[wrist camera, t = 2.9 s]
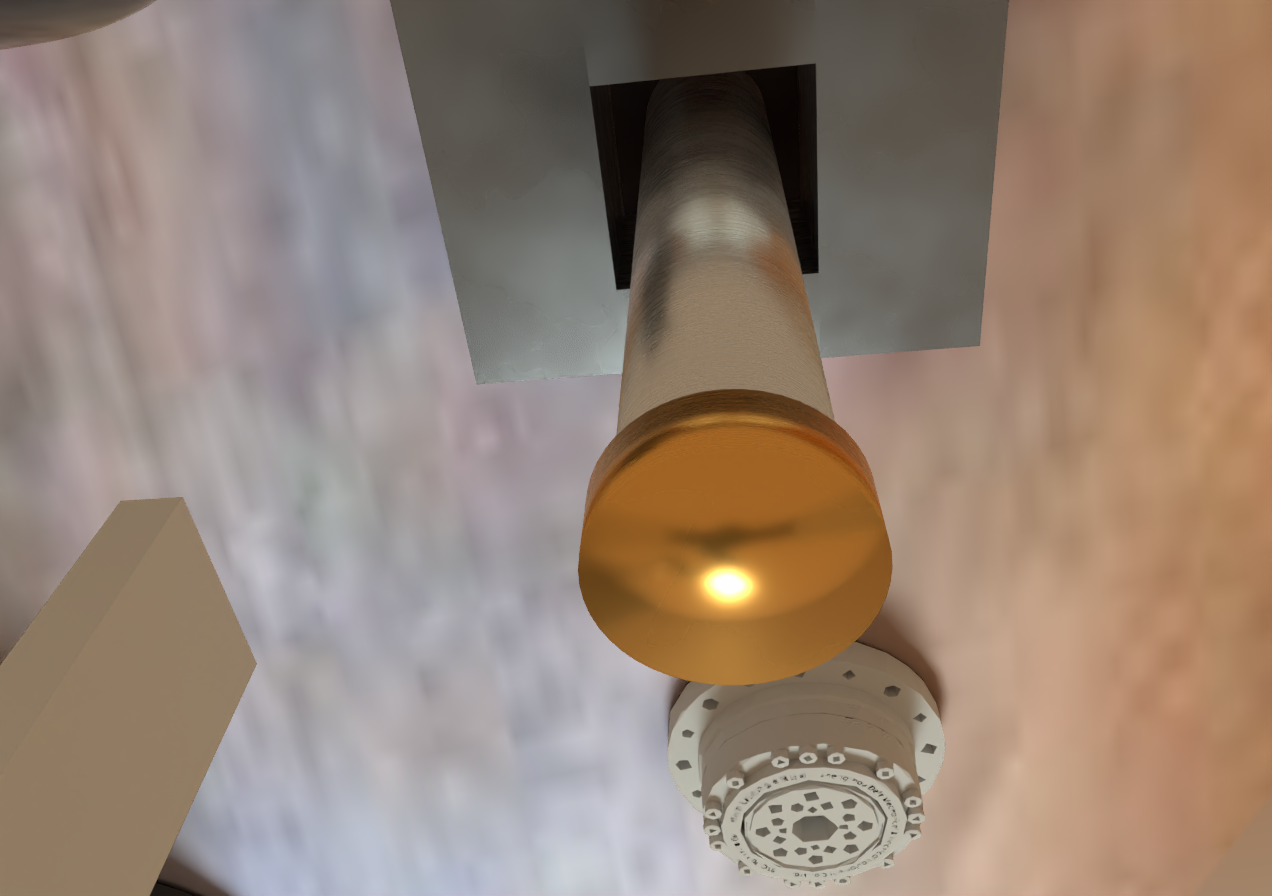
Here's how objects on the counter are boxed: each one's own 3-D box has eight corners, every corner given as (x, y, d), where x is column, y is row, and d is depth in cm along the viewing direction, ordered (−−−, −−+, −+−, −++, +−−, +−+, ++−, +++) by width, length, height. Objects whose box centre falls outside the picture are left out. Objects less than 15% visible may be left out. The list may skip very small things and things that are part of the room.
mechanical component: (940, 618, 36) (651, 640, 37) (969, 718, 32) (648, 740, 33) (935, 802, 41) (683, 818, 42) (959, 906, 38) (684, 920, 39)
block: (502, 301, 29) (476, 384, 26) (432, -48, 24) (388, -9, 21) (940, 264, 28) (979, 345, 25) (961, -110, 23) (1015, -79, 20)
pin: (641, 195, 27) (599, 692, 13) (626, 53, 25) (555, 460, 11) (780, 182, 27) (888, 678, 13) (775, 37, 25) (896, 436, 11)
